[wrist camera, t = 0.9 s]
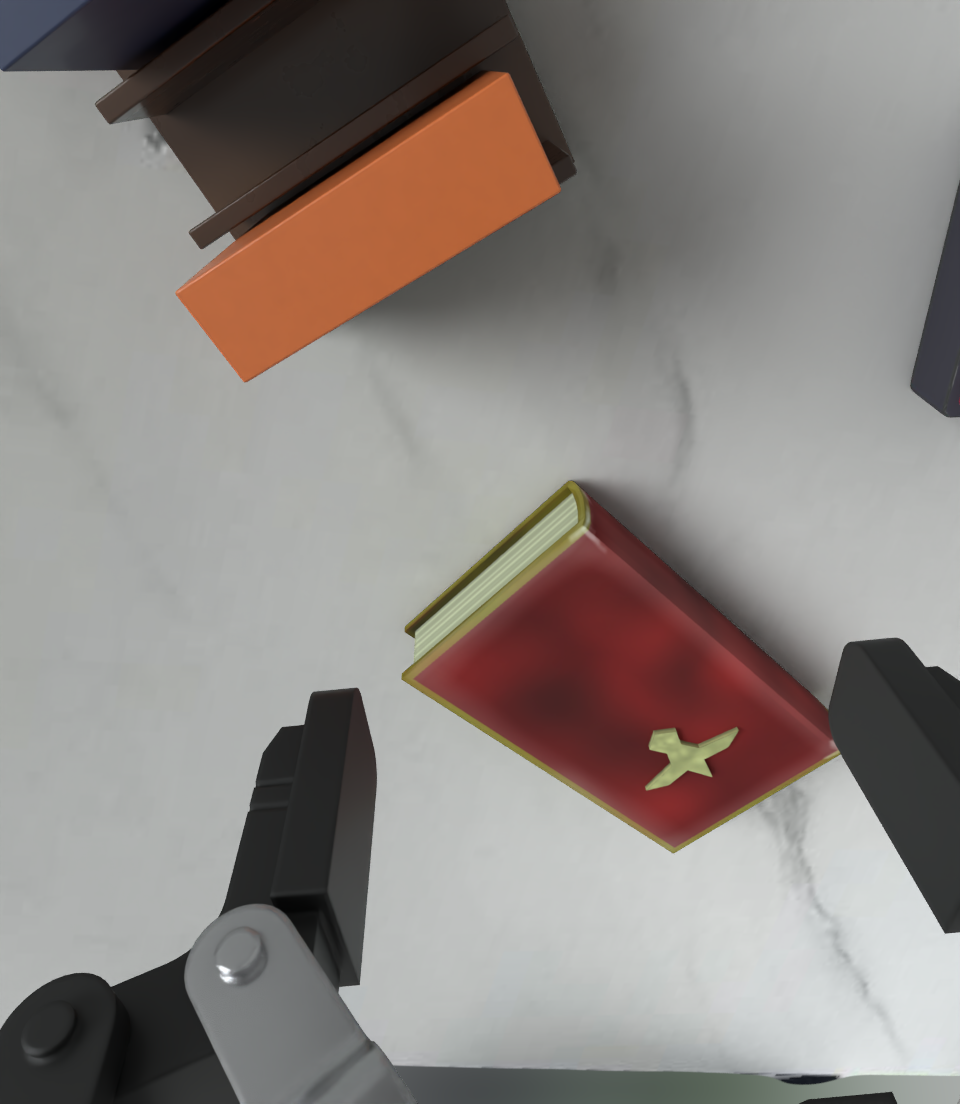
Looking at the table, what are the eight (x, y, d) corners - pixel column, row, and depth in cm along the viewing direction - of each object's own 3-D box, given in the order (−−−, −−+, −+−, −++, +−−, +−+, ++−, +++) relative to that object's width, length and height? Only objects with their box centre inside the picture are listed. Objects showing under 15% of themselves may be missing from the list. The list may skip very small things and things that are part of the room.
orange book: (265, 214, 27) (172, 292, 17) (483, 69, 25) (508, 70, 15) (309, 279, 28) (244, 384, 19) (519, 147, 26) (562, 191, 17)
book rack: (51, -35, 23) (-52, -62, 18) (371, -303, 20) (349, -418, 16) (302, 325, 30) (275, 376, 25) (571, 159, 27) (600, 180, 22)
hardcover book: (575, 474, 34) (591, 521, 30) (819, 694, 42) (854, 751, 39) (404, 626, 38) (401, 683, 35) (657, 798, 47) (674, 857, 43)
